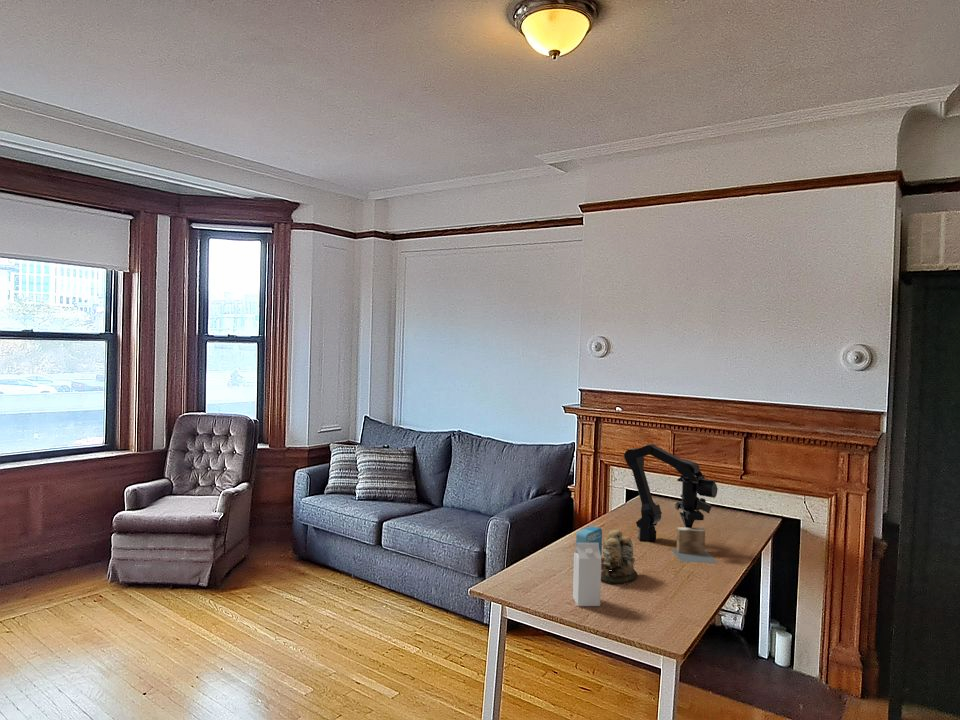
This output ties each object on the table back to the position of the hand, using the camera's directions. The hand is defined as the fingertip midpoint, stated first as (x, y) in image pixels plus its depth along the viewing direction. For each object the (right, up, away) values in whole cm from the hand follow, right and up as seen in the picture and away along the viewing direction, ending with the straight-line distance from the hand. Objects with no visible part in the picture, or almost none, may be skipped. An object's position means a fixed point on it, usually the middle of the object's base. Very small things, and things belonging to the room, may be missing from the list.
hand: (688, 532), depth 259 cm
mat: (-1, -8, -8) cm, 11 cm away
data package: (-43, -7, -15) cm, 46 cm away
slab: (0, -7, -3) cm, 8 cm away
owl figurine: (-35, -8, -32) cm, 48 cm away
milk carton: (-50, -8, -55) cm, 75 cm away
